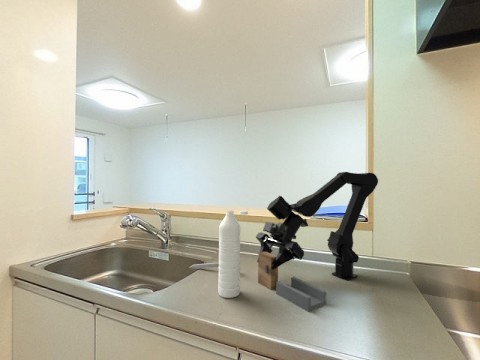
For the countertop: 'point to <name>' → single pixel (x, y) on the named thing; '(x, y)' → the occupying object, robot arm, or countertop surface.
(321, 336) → the countertop surface
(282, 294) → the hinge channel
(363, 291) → the countertop surface
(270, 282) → the door slab
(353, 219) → the robot arm
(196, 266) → the caliper
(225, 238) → the water bottle
